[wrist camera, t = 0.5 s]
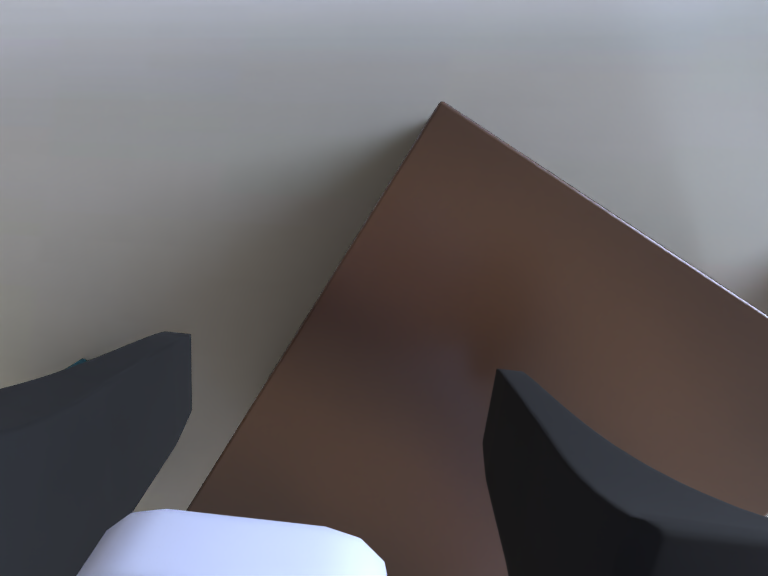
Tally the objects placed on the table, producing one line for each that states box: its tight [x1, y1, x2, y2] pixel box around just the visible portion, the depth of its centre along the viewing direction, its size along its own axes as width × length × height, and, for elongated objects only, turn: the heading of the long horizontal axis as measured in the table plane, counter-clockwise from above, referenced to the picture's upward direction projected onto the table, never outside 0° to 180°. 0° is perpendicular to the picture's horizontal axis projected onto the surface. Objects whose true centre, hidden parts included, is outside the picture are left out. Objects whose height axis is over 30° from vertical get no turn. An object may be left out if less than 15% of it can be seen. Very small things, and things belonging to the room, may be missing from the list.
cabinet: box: [186, 102, 768, 576], centre depth 20 cm, size 14×14×9 cm
